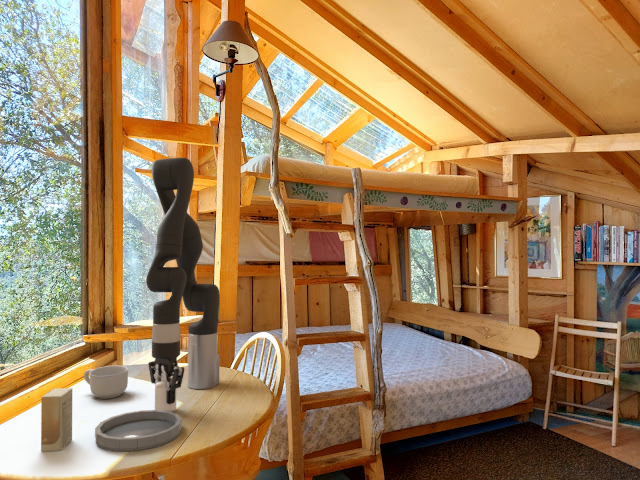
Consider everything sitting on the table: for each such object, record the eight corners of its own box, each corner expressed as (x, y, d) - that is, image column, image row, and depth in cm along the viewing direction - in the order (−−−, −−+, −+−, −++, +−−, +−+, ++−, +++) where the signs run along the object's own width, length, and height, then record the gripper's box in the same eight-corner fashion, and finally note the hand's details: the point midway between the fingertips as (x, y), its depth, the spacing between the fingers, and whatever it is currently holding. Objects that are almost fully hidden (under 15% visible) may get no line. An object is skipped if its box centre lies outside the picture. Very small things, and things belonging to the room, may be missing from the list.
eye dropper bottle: (172, 414, 129) (172, 369, 129) (152, 413, 129) (152, 369, 129) (178, 408, 133) (178, 365, 133) (159, 408, 134) (159, 365, 134)
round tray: (152, 415, 127) (152, 405, 127) (196, 432, 116) (196, 421, 116) (80, 437, 112) (80, 425, 112) (123, 459, 101) (123, 446, 101)
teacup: (135, 393, 147) (135, 367, 148) (106, 403, 138) (107, 375, 138) (103, 387, 153) (103, 362, 153) (73, 397, 143) (73, 370, 144)
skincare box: (53, 440, 111) (54, 387, 111) (72, 440, 111) (73, 387, 111) (39, 452, 104) (40, 396, 105) (60, 451, 105) (60, 395, 105)
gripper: (193, 340, 130) (192, 403, 130) (163, 334, 139) (162, 393, 139) (169, 344, 124) (169, 410, 124) (139, 338, 133) (138, 399, 133)
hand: (165, 401), depth 131 cm, fingers closed on eye dropper bottle, 4 cm apart
